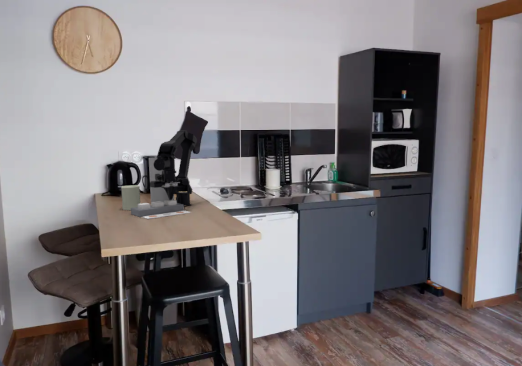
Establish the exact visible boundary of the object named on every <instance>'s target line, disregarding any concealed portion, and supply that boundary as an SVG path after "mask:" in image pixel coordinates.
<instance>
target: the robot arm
mask: <svg viewBox="0 0 522 366" xmlns="http://www.w3.org/2000/svg"><path fill="white" fill-rule="evenodd" d="M197 143H198V138H197V137H196V136H195V134H193V133H191V132H188V131H187V130H178V131H176V134H174V136H173V137H171V139H169V140H168V141H164V142H162V143H161V144H160V145H159V147H158V151H157V156H156V157H157V159H156V160H155V161H154V168H155V169H156V170H158V171H161V170H163V171H162V174H161V175H160V174H155V180H156V181H151V182H150V181H149V188H150V187H153V188H159V187H161V188H164V190H165V191H166V193H167V196H168V198H169V200H172V198H173V196H174V197H175V200H176V201H177V203H179V204H183V205H184V207H188V206H192V203H191V195H192V194H193V188H192V186H191V184H190V179H189V176H188V175H189V170H190V169H189V167H190V162H191V155H192V152H193V150H194V149H195V148H196V145H197ZM179 146H180V147H181V150H182V152H181V155H180V162H179V168H178V174H177V170H176V163H175V161H176V158H177V157H176V156H175V155H176V153H177V152H178V147H179ZM176 174H177V175H176ZM157 180H159V181H157Z"/></svg>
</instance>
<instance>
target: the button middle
mask: <svg viewBox="0 0 522 366" xmlns="http://www.w3.org/2000/svg"><path fill="white" fill-rule="evenodd" d="M150 205H151V207H155V208H156V207H163V206H164V202H161V201H157V202H151V201H150Z"/></svg>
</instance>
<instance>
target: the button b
mask: <svg viewBox="0 0 522 366" xmlns="http://www.w3.org/2000/svg"><path fill="white" fill-rule="evenodd" d="M164 203H165V205H167V206H171V205H177V201H176V199H174V200H165V201H164Z"/></svg>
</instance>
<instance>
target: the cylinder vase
mask: <svg viewBox="0 0 522 366" xmlns="http://www.w3.org/2000/svg"><path fill="white" fill-rule="evenodd" d="M156 159H157V156H156V157H148V167H149V172H148V173H149V183H150V182H151V181H156V180H155V174H160V175H161V174H162V171H163V170H161V171H158V170H156V169H155V168H154V161H155V160H156ZM157 181H159V180H157ZM149 189H150V203H151V202H157V201H161V202H164V201H165V200H169V198H168V196H167V193H166V191H165V190H164V188H161V187H159V188H153V187H150V186H149ZM172 200H175V195H174V196H173V198H172ZM164 204H165V203H164Z"/></svg>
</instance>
